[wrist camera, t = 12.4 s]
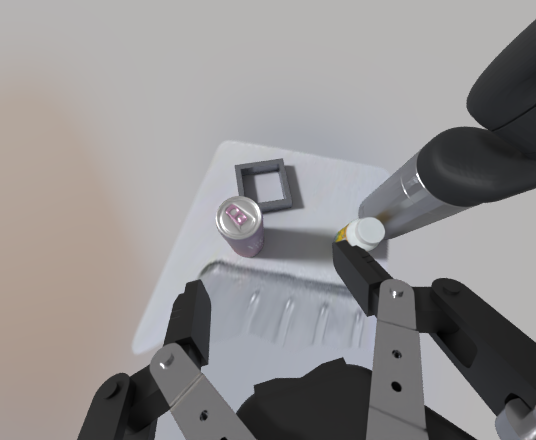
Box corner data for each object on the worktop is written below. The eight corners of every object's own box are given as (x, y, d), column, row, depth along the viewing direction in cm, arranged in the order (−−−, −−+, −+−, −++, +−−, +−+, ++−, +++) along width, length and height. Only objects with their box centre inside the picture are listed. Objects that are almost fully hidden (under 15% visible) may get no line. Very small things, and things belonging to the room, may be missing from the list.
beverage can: (248, 220, 43) (240, 185, 28) (270, 241, 41) (273, 216, 27) (225, 241, 41) (204, 216, 27) (247, 264, 40) (237, 251, 26)
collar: (281, 165, 46) (282, 158, 44) (290, 207, 43) (292, 202, 41) (236, 171, 46) (234, 165, 43) (242, 215, 43) (241, 210, 40)
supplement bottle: (345, 262, 40) (368, 255, 31) (327, 238, 42) (345, 224, 33) (368, 247, 41) (397, 236, 32) (350, 224, 43) (373, 206, 33)
